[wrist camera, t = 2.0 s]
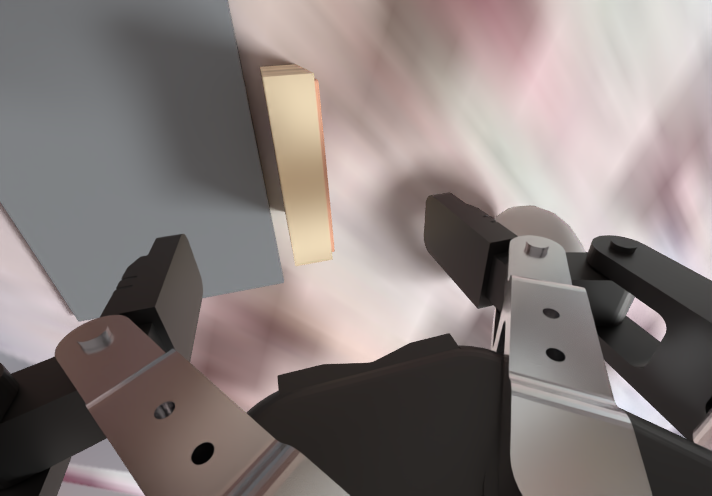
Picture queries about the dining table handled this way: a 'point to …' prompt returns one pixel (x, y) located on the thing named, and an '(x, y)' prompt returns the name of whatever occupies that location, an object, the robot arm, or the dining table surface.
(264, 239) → the mat
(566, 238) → the donut
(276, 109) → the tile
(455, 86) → the dining table surface
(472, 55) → the dining table surface
